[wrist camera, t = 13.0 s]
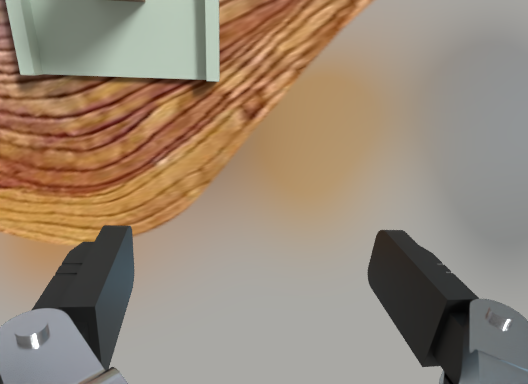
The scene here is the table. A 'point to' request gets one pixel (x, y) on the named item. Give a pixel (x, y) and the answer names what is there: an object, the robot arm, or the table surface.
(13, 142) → the table surface
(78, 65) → the tray
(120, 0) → the block
